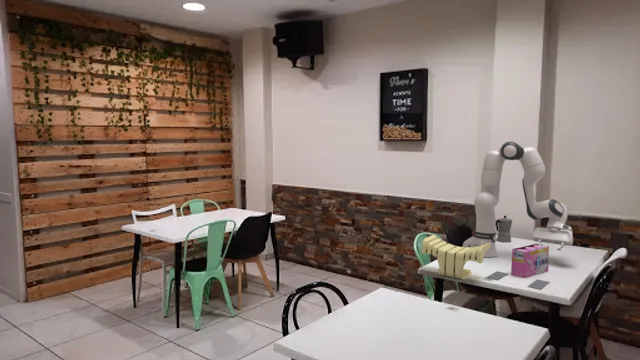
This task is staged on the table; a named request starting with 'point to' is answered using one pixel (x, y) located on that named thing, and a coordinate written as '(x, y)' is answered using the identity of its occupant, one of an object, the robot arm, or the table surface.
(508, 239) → the coffeepot
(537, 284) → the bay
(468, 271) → the slatted curved stool
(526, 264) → the gum box
